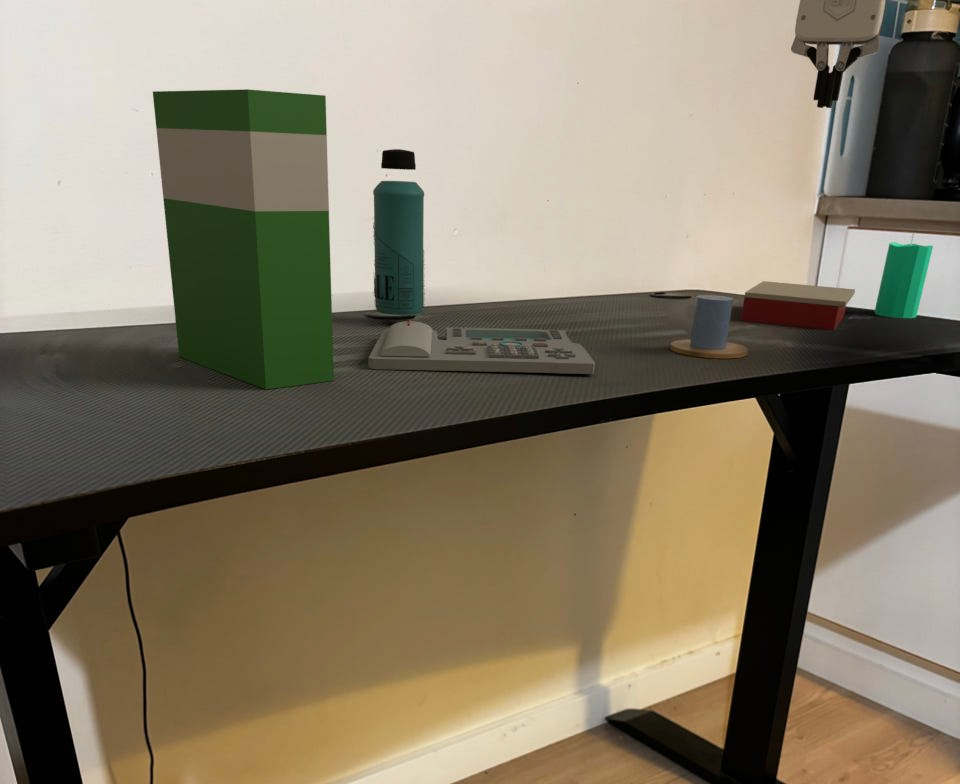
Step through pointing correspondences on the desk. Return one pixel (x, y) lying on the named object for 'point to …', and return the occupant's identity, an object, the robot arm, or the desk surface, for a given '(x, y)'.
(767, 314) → the shallow red crate
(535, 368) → the office telephone
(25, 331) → the desk surface
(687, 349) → the coaster
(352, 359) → the desk surface
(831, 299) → the grey flat panel
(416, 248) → the beverage bottle
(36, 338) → the desk surface
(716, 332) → the blue cylinder
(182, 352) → the cereal box
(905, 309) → the candle
